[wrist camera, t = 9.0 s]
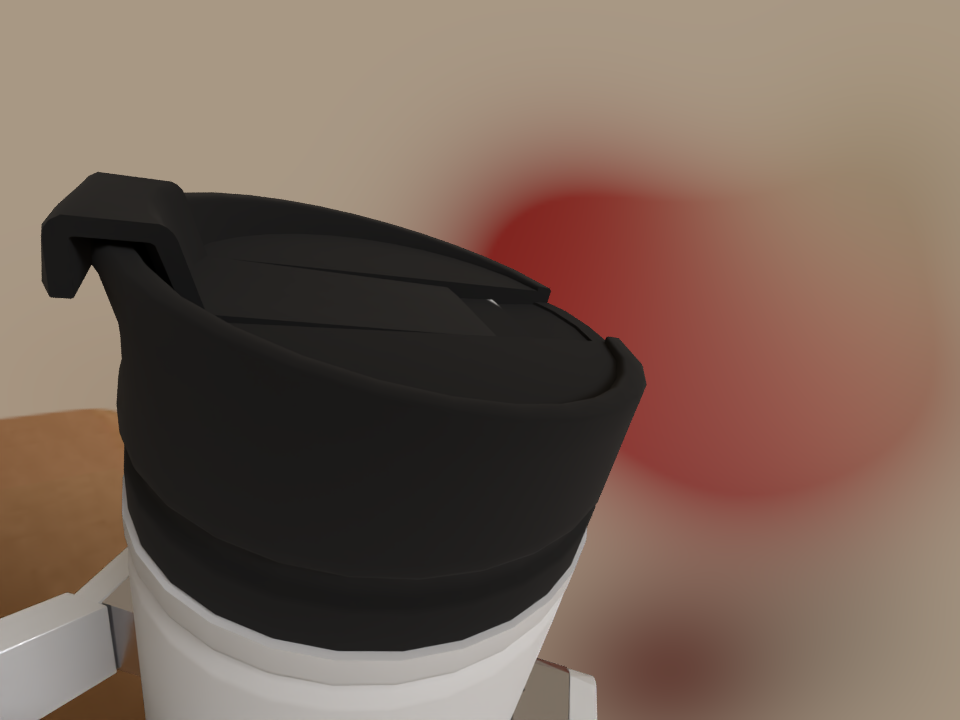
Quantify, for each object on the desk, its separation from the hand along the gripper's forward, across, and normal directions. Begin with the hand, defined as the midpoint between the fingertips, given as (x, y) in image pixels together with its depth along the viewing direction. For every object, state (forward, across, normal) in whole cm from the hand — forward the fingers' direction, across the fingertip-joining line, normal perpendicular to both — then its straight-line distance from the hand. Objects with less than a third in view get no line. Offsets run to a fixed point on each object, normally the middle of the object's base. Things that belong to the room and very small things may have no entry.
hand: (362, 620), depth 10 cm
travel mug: (-1, 0, +12) cm, 12 cm away
